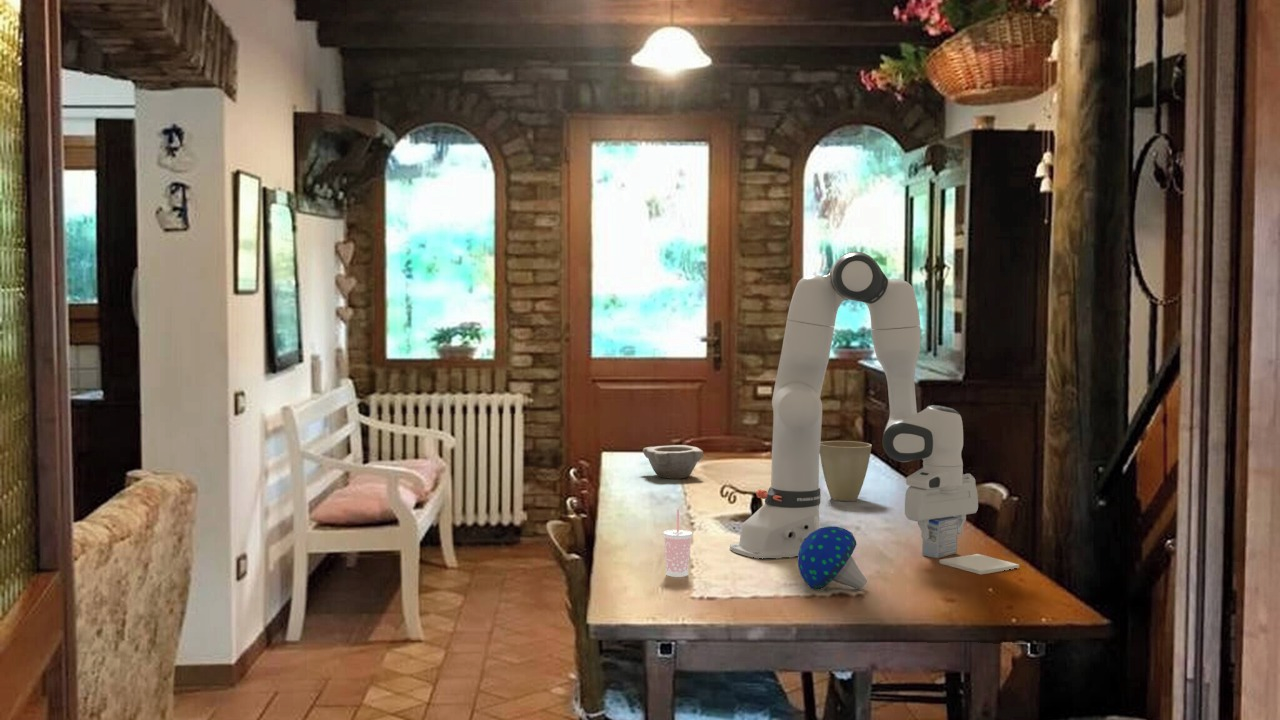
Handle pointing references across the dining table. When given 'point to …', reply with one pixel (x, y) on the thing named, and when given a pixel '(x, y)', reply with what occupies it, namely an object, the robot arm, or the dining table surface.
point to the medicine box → (941, 537)
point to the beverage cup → (677, 551)
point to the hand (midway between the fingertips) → (941, 536)
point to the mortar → (673, 460)
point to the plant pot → (844, 467)
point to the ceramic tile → (979, 564)
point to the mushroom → (829, 559)
